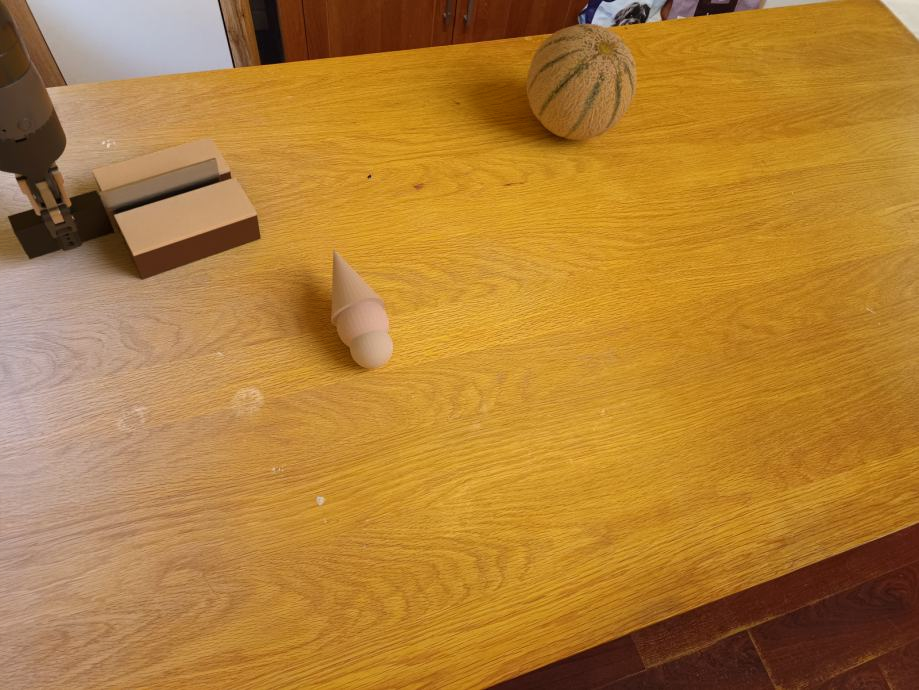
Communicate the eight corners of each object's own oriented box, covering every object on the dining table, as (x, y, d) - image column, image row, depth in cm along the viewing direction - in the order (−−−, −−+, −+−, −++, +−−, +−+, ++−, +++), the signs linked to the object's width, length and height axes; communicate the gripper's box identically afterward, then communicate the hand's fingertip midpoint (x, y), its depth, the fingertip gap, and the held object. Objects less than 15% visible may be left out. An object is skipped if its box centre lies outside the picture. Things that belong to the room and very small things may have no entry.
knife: (29, 260, 79) (11, 228, 75) (23, 244, 80) (5, 212, 76) (226, 196, 88) (219, 165, 84) (218, 183, 89) (211, 151, 85)
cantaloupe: (533, 82, 111) (556, -14, 98) (627, 112, 109) (662, 18, 97) (504, 141, 102) (524, 45, 90) (605, 174, 101) (640, 81, 89)
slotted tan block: (142, 279, 82) (132, 253, 79) (102, 198, 88) (91, 169, 85) (261, 238, 88) (256, 212, 84) (215, 164, 94) (210, 136, 90)
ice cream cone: (338, 225, 79) (386, 347, 74) (369, 241, 84) (416, 356, 79) (295, 255, 81) (339, 376, 76) (328, 269, 86) (371, 382, 81)
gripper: (-57, 74, 69) (14, 206, 83) (-20, 169, 63) (50, 294, 77) (29, 55, 71) (83, 186, 86) (72, 144, 65) (123, 269, 80)
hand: (67, 236), depth 81 cm, fingers closed on knife, 2 cm apart
